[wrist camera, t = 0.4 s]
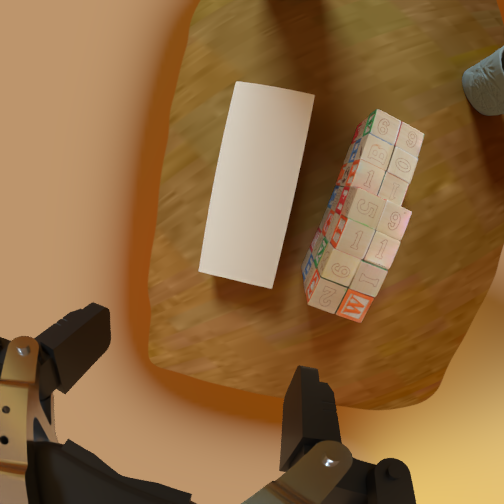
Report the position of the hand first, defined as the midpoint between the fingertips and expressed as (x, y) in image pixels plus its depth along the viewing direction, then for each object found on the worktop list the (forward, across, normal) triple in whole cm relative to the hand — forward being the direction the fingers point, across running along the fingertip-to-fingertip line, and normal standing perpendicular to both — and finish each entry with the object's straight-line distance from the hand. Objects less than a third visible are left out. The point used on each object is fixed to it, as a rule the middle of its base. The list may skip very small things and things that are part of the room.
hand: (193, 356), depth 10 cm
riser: (+28, +1, -6) cm, 29 cm away
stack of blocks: (+28, -11, -6) cm, 31 cm away
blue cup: (+28, -31, -33) cm, 53 cm away
